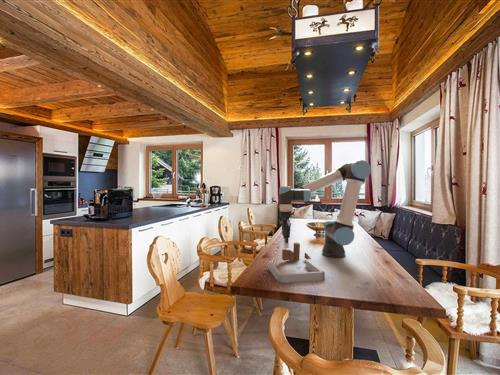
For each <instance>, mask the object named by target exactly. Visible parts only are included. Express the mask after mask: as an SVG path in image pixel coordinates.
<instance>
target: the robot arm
mask: <svg viewBox="0 0 500 375" xmlns="http://www.w3.org/2000/svg"><path fill="white" fill-rule="evenodd" d="M371 168H372V167H371V165H370V164H369V163H368V161H367V160H364V159H355V160H352V161H347V162H346V163H344V164H342V165H341V166H338V167H337V168H334V171H332V172H330V173H327V174H326V175H323V176H321V177H318V178H316V179H313V180H311V181H310V182H307V183H305V184H303V185H301V186H299V187H297V188H292V186H290V185H289V186H288V185H287V186H286V185H285V186H280V187H279V193H278V194H279V200H278V201H279V205H278V208H279V217H280V218H282V219H281V220H280V223H281V234H282V238H283V249H289V248H290V247H289V246H290V244H289V239H290V237H291V226H292V223H291V220H290V218H292V215H293V212H292V210H293V209H292V208H293V206H292V204H293V203H292V202H308V201H311V199H312V194H314V193H316V192H318V191H321V190H323V189H325V188H327V187H329V186H331V185H334V184H336V183H338V182H342V183H343V182H344V181H346V185H345V190H344V193H343V197H342V201H341V205H340V208H339V213H338V216H337V218H336V219H335V220H334V221H333V220H328V221H327V220H326V221H325V222H324V244H323V246H322V247H323V248H322V249H321V254H322V255H323V256H325V257H329V258H343V257H345V256H346V251H345V248H344V246H348V245H350V244H352V243H353V241H354V239H355V232H354V231H353V230H354V227H355V225H354V223H353V221H354V217H355V216H354V215H355V212H356V207H357V203H358V200H359V195H360V192H361V188H362V185H364V184H365V182H366V178H368V177H369V176H370V174H371V172H372V171H371V170H372V169H371Z"/></svg>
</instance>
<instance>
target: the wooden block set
mask: <svg viewBox="0 0 500 375" xmlns="http://www.w3.org/2000/svg"><path fill="white" fill-rule="evenodd" d="M300 248H301V244H300V242H294V243H293V249H292V250H291V249H289V248H283V249H282V250H281V260H283V261H285V262H286V261H294V260H296V261H299V260H300V251H301V250H300ZM304 259H305V260H312V257H311V256H309V254H308V253H306V252H304Z"/></svg>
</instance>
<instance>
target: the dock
mask: <svg viewBox="0 0 500 375" xmlns="http://www.w3.org/2000/svg"><path fill="white" fill-rule="evenodd" d="M305 268H307V270H309V272H307V271H304V272H290V273H281V271H280V270H278V268H277V266H276V265H274V264H273V262H272V261H268V270H269V271H270V273H271V274H272V276H273V277H274V279H275V280H276V281H277V283H278V284H286V283H287V284H288V283H301V282H316V281H325V280H326V279H325V278H326V272H325V271H324V270H323V269H321V268H320V267H318V266H317V265H316V264H315V263H313V262H312V261H311V260H310V259H305Z"/></svg>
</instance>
